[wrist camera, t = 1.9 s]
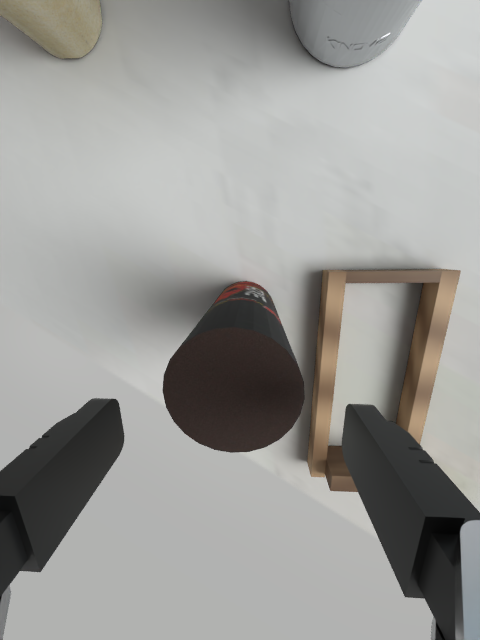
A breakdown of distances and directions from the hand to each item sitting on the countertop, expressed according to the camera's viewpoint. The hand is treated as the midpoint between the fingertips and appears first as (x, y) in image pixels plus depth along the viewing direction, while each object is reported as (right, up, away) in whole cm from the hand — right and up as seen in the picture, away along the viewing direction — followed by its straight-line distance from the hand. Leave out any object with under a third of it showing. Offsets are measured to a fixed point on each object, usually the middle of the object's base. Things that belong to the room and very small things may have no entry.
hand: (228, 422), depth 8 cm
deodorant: (+1, +5, +16) cm, 17 cm away
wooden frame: (+14, -3, +17) cm, 22 cm away
